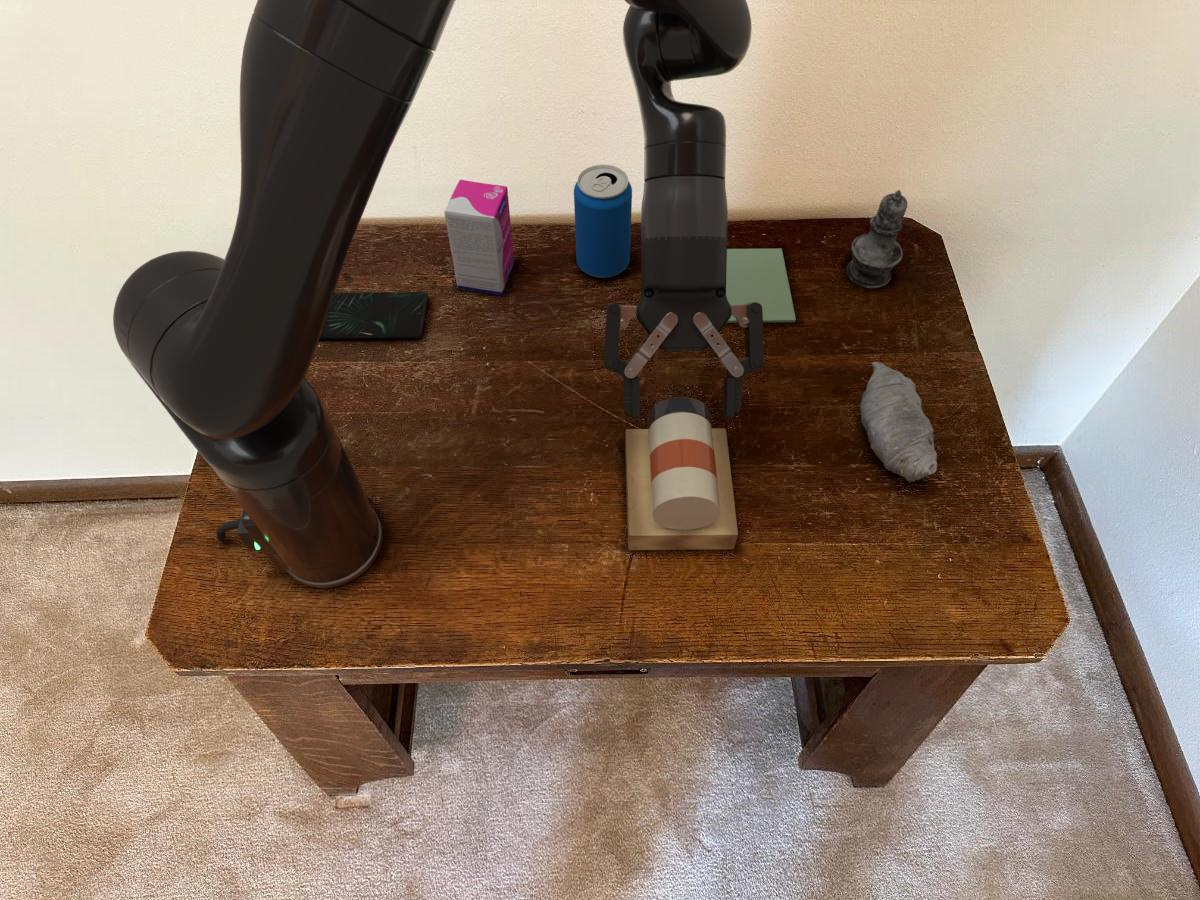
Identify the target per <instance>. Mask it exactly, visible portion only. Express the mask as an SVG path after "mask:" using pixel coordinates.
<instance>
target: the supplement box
mask: <svg viewBox="0 0 1200 900" xmlns="http://www.w3.org/2000/svg"><path fill="white" fill-rule="evenodd" d="M508 189H509V188H508V186H506V185H500V184H492V183H484V182H479V181H473V180H466V179H459V180H458V182H457V184H456V186H455V187H454V190H453V192H452V194H451V197H450V198H449V200H448V201H447V205H446V207H445V209H444V211H443V212H444V218H445V223H446V229H447V230H446V231H447V235H448V241H449V246H450V252H451V258H452V264H453V269H454V275H455V283H456V288H457V289H458V290H464V291H473V292H478V293H486V294H489V295H490V294H491V295H496V296H497V295H498V296H503V294H504V291H505V287H506V284H507V282H508V279H509V277H510V274H511V272H512V269H513V268H514V266H515V256H514V245H513V235H512V226H511V225H512V223H511V213H510V201H509V192H508Z"/></svg>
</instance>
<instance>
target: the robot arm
mask: <svg viewBox="0 0 1200 900" xmlns="http://www.w3.org/2000/svg"><path fill="white" fill-rule="evenodd" d="M456 1H457V0H257V1H256V4H255V6H254V9H253V13H252V14H251V17H250V20H249V24H248V26H247V31H246V34H245V39H244V42H243V43H244V44H243V47H242V48H243V49H242V55H241V65H240V76H239V80H240V81H239V143H240V144H239V146H240V169H241V170H240V192H239V193H240V194H239V203H238V211H237V215H236V221H235V224H234V225H235V226H234V230H233V233H232V236H231V240H230V243H229V247H228V249H227V252H226V255H225V257H224V258H223V257H221V256H218V255H215V254H213V253H210V252H209V253H207V252H205V251H204V252H203V251H197V250H177V251H173V252H172V251H171V252H167V253H164V254H161V255H157V256H155V257H154V258H152V259H150V260H148V261H146V262H144V263H143V264H142V265H141V266H139V267H138V268H136V269H135V270H134V271H133V272H132V273H131V274H130V275H129V277H128V278H127V279H126V281H125V282H124V283H123V285H121V288H120V290H119V291H118V294H117V297H116V300H115V303H114V307H113V314H112V324H113V332H114V335H115V339H116V343H117V344H118V346H119V348H120V350H121V352H122V353H123V355H124V357H125V358H126V359H127V361H128V362H129V364H130V365H131V366H132V367H133V369H134V370H135V371H136V373H137V375H139V377H140V378H141V379H142V380H143V382H144V384H146V386H147V387H148V388H149V390H150V391H151V392H152V394H153V395H154V396H155V397H156V399H157V400H158V401H159V403H160V404H161V405H162V406H163V408H164V409H165V410H166V412H167V413H168V414H169V416H170V417H171V419H172V420H173V421H174V423H175V424H176V425H177V427H178V428H179V429H180V431H181V432H182V433H183V435H184V436H185V437H186V438H187V439H188V441H189V442H190V443H191V445H192V446H193V447H194V448H195V449H196V451H197V452H198V453H199V454H200V456H201V457H202V458H203V459H204V461H205V462H206V463H207V465H208V466H209V467H210V468H211V469H212V471H213V472H214V474H215V475H216V476H217V478H219V480H220V481H221V483H222V484H223V485H224V487H225V488H226V489H227V491H228V492H229V493H230V494H231V495H232V497H233V498H234V500H235V501H236V503H237V504H238V505H239V507H240V508H241V509H242V512H241V516H240V519H235V520H231V521H227V522H225V523H223V524H221V525H219V526H218V528H217V529H216V539H217V541H218V542H224V541H225V540H226V538H227V535H226V532H228V531H231V530H235V529H237V530H236V535H237V536H238V538H240V540H241V541H242V542H243V544H244V545H245V546H246V547H247V548H248V550H256V551H258V550H261V551H262V553H263V554H264V555H265V557H266V558H267V559H268V561H269V562H270V563H271V565H272V566H273V567H274V568H275V569H276V571H277V572H278V573H279V574H289V575H290V576H291V577H292V578H293V579H294V580H296V582H298V583H300V584H302V585H304V586H307V587H311V588H316V589H331V588H336V587H341V586H344V585H346V584H349V583H350V582H353V581H354V580H356V579H357V578H359V577H360V576H362V575H363V574H364V573H365V572H367V570H369V568H371V566H372V565H373V564H374V562H375V561H376V559H377V558H378V556H379V554H380V552H381V549H382V547H383V540H384V532H383V526H382V523H381V521H380V519H379V516H378V514H377V513H376V511H375V510H374V509H373V507H372V506H374V507H375V508H376V507H377V506H376V505H375V502H374V500H372V499H371V498H370V497H369V496H368V495H367V493H366V492H365V490H364V487H363V485H362V484H361V483H362V482H361V481H360V479H359V477H358V475H357V473H356V471H355V468H354V467H353V465H352V463H351V460H350V458H349V456H348V454H347V452H346V450H345V447H344V445H343V443H342V442H341V440H340V437H339V435H338V434H337V431H336V429H335V427H334V425H333V422H332V421H331V419H330V417H329V415H328V413H327V411H326V409H325V407H324V406H325V405H324V404H323V403H322V400H321V398H320V396H319V395H318V393H317V392H316V390H315V389H314V388H313V386H312V384H310V382H309V381H308V380H307V378H306V376H307V374H308V371H309V369H310V367H311V364H312V361H313V358H314V356H315V353H316V350H317V346H318V343H319V340H320V339H319V338H320V335H321V331H322V328H323V325H324V322H325V319H326V316H327V312H328V309H329V306H330V303H331V300H332V297H333V294H334V293H335V290H336V288H337V284H338V281H339V278H340V275H341V271H342V268H343V266H344V264H345V260H346V257H347V254H348V252H349V249H350V247H351V243H352V242H353V238H354V236H355V234H356V231H357V229H358V227H359V224H360V222H361V220H362V217H363V215H364V212H365V210H366V207H367V205H368V202H369V200H370V198H371V195H372V193H373V190H374V188H375V185H376V183H377V180H378V178H379V175H380V173H381V171H382V168H383V166H384V163H385V161H386V158H387V157H388V154H389V152H390V149H391V147H392V145H393V143H394V141H395V139H396V137H397V135H398V132H399V130H400V129H401V127H402V125H403V123H404V121H405V118H406V117H407V115H408V112H409V111H410V109H411V107H412V104H413V102H414V100H415V98H416V95H417V93H418V91H419V89H420V86H421V84H422V82H423V80H424V79H425V78H424V77H425V75H426V73H427V71H428V69H429V66H430V64H431V62H432V60H433V58H434V55H435V54H434V52H436V51H437V48H438V46H439V43H440V41H441V38H442V35H443V33H444V31H445V29H446V25H447V23H448V20H449V18H450V15H451V13H452V10H453V8H454V6H455V4H456ZM623 1H624V2H625V3H627V4H628V5H629V6H628V9H627V11H626V14H625V17H624V20H623V24H622V43H623V47H624V53H625V57H626V60H627V64H628V68H629V72H630V75H631V79H632V82H633V87H634V89H635V94H636V98H637V102H638V107H639V112H640V118H641V124H642V131H643V150H644V151H643V154H644V155H643V157H644V160H643V161H644V162H643V165H644V166H643V172H644V173H643V180H644V181H643V182H644V183H643V192H642V201H641V210H640V213H641V214H640V218H641V219H640V226H639V230H640V231H639V232H640V236H641V237H640V239H641V240H640V241H641V242H640V243H641V245H640V250H641V251H640V253H641V254H640V259H641V261H640V265H641V266H640V267H641V268H640V269H641V270H640V272H641V273H640V280H641V281H640V287H641V288H640V291H641V292H640V299H639V302H638V304H637V305H623V304H617V303H615V302H611V303H610V304H608V305H607V307H606V316H605V336H604V337H605V339H604V354H603V355H604V356H603V366H604V368H605V370H607V371H608V372H612V373H615V374H618V375H620V376H622V378H623V408H624V410H625V413H626V414H630V415H631V417H630V418H631V420H641V379H640V377H639V376H638V375H639V373H640V372H641V371H642V369H643V368H644V366H645V365H647V363H648V362H649V360H650V359H651V358H652V357H653V355H654V354H655V353H656V351H657V350H658V349H660V350H661V351H664V352H666V353H677V352H680V351H683V350H684V351H689V352H693V353H701V352H703V351H705V350H706V349H709V350H710V351H711V353H712V354H713V356H714V357H715V358H716V359H717V360H718V362H719V363H720V364H721V366H722V367H723V369H724V370H725V371H726V372H725V373H726V374H725V375H723V389H722V390H723V391H722V392H723V393H722V394H723V395H722V397H723V398H722V416H723V418H724V419H726V420H734V419H735V413H740V411H741V409H742V406H743V405H742V404H743V403H742V402H743V401H742V399H743V398H742V397H743V396H742V395H743V378H744V377H745V376H746V375H747V374H748V373H749V374H750V373H752V372H755V371H760V370H762V369H763V368H764V366H765V349H764V348H765V346H764V323H763V311H762V306H761V304H760V303H757V302H749V303H747V304H739V305H730V304H729V302H728V300H727V296H726V270H727V249H728V216H729V215H728V213H729V211H728V198H727V197H728V196H727V190H726V166H727V165H726V164H727V148H726V147H727V124H726V119H725V116H724V115H723V113H722V112H721V111H720V110H719V109H717V108H715V107H712V106H708V105H703V104H698V103H689V102H682V101H678V100H676V98H675V97H674V94H673V91H672V82H674V81H683V80H691V79H700V78H707V77H717V76H721V75H725V74H728V73H730V72H732V71H733V70H735V69H736V68H737V67H739V66H740V65H741V64H742V61H743V60H744V59H745V57H746V56H747V53H748V51H749V48H750V44H751V40H752V34H753V33H752V32H753V30H752V18H751V13H750V12H751V11H750V8H749V5H748V2H747V0H623ZM731 316H734V317H735V318H736V320H737V323H736V324H737V325H738V326H739V327H740V328H743V329H744V351H745V357H742V358H740V359H738V358H737V357H736V355H735V354H734V353H733V351H732V349H731V348H730V347H729V345H728V344H727V343H726V341H725V340H724V338H723V337H722V335H721V334H720V333H721V331H722V330H723V328H725V326H726V324H728V323H727V322H728V320H729V319H730V317H731ZM632 318H636V319H637V321H638V322H639V324H640V325H641V326H642V327H643V329H644V330H645V332H646V336H645V337H644V338H643V340H642V341H641V342H640V344H639V345H638V346H637V348H636V350H635V351H634V352H633V354H632V355H631V356H630V358H629V359H628V361H627V360H624V359H621V358H619V347H620V333H621V331H620V330H624V329H626V328H628V326H629V323H630V320H631V319H632Z"/></svg>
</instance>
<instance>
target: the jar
mask: <svg viewBox="0 0 1200 900" xmlns="http://www.w3.org/2000/svg"><path fill="white" fill-rule="evenodd" d="M647 413H648V414H647V429H648V437H649V456H650V457H649V463H650V483H651V496H652V516H653V519H654V520H655V521H656V522H657V523H658V524H659V525H661V526H663V527H666V528H670V529H676V530H690V529H697V528H701V527H704V526H707V525H709V524H711V523H712V522H714V521H715V520H716V519H717V518H718V517H719V515H720V502H719V493H718V480H717V471H716V461H715V453H714V446H713V436H712V429H713V427H712V418H711V410H710V409H709V407H708V406H707V404H706V403H704V402H703V401H701V400H698V399H697V398H693V397H688V396H678V397H677V396H676V397H670V398H666V399H664V400H661V401H659V402H657V403H656V404H654V405H653V406H652V407H651V408H650V410H649V411H648V412H647Z"/></svg>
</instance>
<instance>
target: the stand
mask: <svg viewBox="0 0 1200 900" xmlns="http://www.w3.org/2000/svg"><path fill="white" fill-rule="evenodd" d="M624 435H625V436H624V437H625V438H624V439H625V440H624V451H625V452H624V454H625V455H624V457H625V458H624V459H625V489H626V490H625V491H626V522H627V524H626V525H627V526H626V527H627V550H628V551H685V550H687V551H688V550H689V551H690V550H691V551H695V550H696V551H697V550H699V551H701V550H702V551H703V550H705V551H706V550H734V549H735V547H736V543H737V539H738V537H739V528H738V520H737V513H736V503H735V494H734V486H733V479H732V478H733V477H732V471H731V470H732V469H731V462H730V453H729V445H728V437H727V436H728V435H727V429H726V428H725V427H724V428H723V427H722V428H721V427H719V428H717V427H715V428H712V436H713V446H714V453H715V461H716V471H717V480H718V493H719V502H720V515H719V517H718V518H717V519H716V520H715V521H714V522H712V523H711V524H709V525H707V526H704V527H701V528H697V529H690V530H676V529H670V528H666V527H663V526H661V525H659V524H658V523H657V522H656V521H655V520H654V519H653V516H652V496H651V483H650V463H649V457H650V456H649V437H648V428H626V429H625V434H624Z"/></svg>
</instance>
